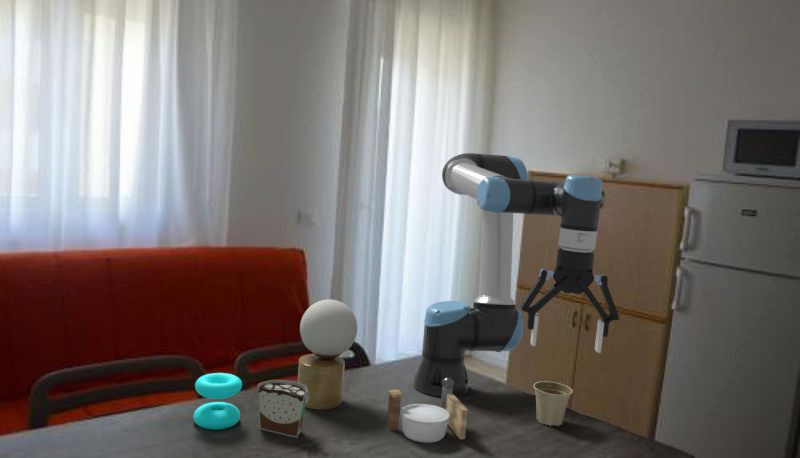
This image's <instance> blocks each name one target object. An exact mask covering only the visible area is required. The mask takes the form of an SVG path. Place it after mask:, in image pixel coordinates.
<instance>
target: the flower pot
mask: <svg viewBox="0 0 800 458" xmlns="http://www.w3.org/2000/svg"><path fill="white" fill-rule="evenodd" d="M532 387H533V389H534V394H535V403H536V405H535V406H536V407H535V408H536V420H537V422H538V423H540V424H542V425H544V424H545V426H547V425H549V426H548V427H553V426H556V427H560V426H561V425H562V424H563V422H564V417H565V414H566V413H565V412H566V409H567V405H568V402H569V400H570V398H571V395H572V394H573V391H574V390H573V389H572V388H571V387H570V386H568V385H565V384H563V383H559V382H555V381H548V380H547V381H536V382H535V383H533V386H532Z"/></svg>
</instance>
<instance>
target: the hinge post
mask: <svg viewBox="0 0 800 458" xmlns="http://www.w3.org/2000/svg"><path fill="white" fill-rule="evenodd" d="M442 386H443V387H442V396H441V401H440V402H441V403H440V407H441V408H443V409H445V410H446V401H447V393H452V389H453V386H454V381H453V380H452V379H451V378H449V377H447V378H444V379H443V381H442Z"/></svg>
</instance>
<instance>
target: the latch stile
mask: <svg viewBox="0 0 800 458" xmlns="http://www.w3.org/2000/svg"><path fill="white" fill-rule="evenodd" d="M387 395H388V403H387V415H386V416H387V417H386V425H385V426H386V427H385V428H386V429H388V430H389V431H390V432H392V431H393V432H394V431H398V430H399V425H400V424H399V423H400V417H401V403H402V397H403V396H404V393H403V392H402V391H401V390H399V389H393V390H392V389H390V390H387Z"/></svg>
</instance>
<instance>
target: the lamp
mask: <svg viewBox="0 0 800 458" xmlns="http://www.w3.org/2000/svg"><path fill="white" fill-rule="evenodd" d="M299 333H300V338H301V340H302V343H303V344H304V346H305V347H306V348H307V349H308V350H309V351H310V352H312V353H309V354H305V355H302V356H300V357H299V359H298V367H297V368H298V369H297V382H298V383H301V384H303V385H304V386H306V387H307V390H308V393H309V401H308V402H307V403H305V408H306V409H312V410H331V409H335V408H339V407H340V406H341V405H342V402H343V392H344V391H343V390H344V380H345V379H344V378H345V367H346V366H345V362H346V361H345V360H344V358H343V357H341V355H343V354H344V353H346V352H347V351H348V350H349V349H350V348H351V347H352V345H354V344H353V343H354V342H355V340H356V338H357V334H358V322H357V318H356V316H355V313H354V312H353V311H352V309H351V308H350V307H349V306H348V305H347V304H346V303H344V302H342V301H339V300H337V299H323V300H319V301H316V302H314V303H313V304H312V305H311V306H309V307H308V308H307V309H306V311H304V313H303V315H302V317H301V320H300V325H299Z"/></svg>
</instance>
